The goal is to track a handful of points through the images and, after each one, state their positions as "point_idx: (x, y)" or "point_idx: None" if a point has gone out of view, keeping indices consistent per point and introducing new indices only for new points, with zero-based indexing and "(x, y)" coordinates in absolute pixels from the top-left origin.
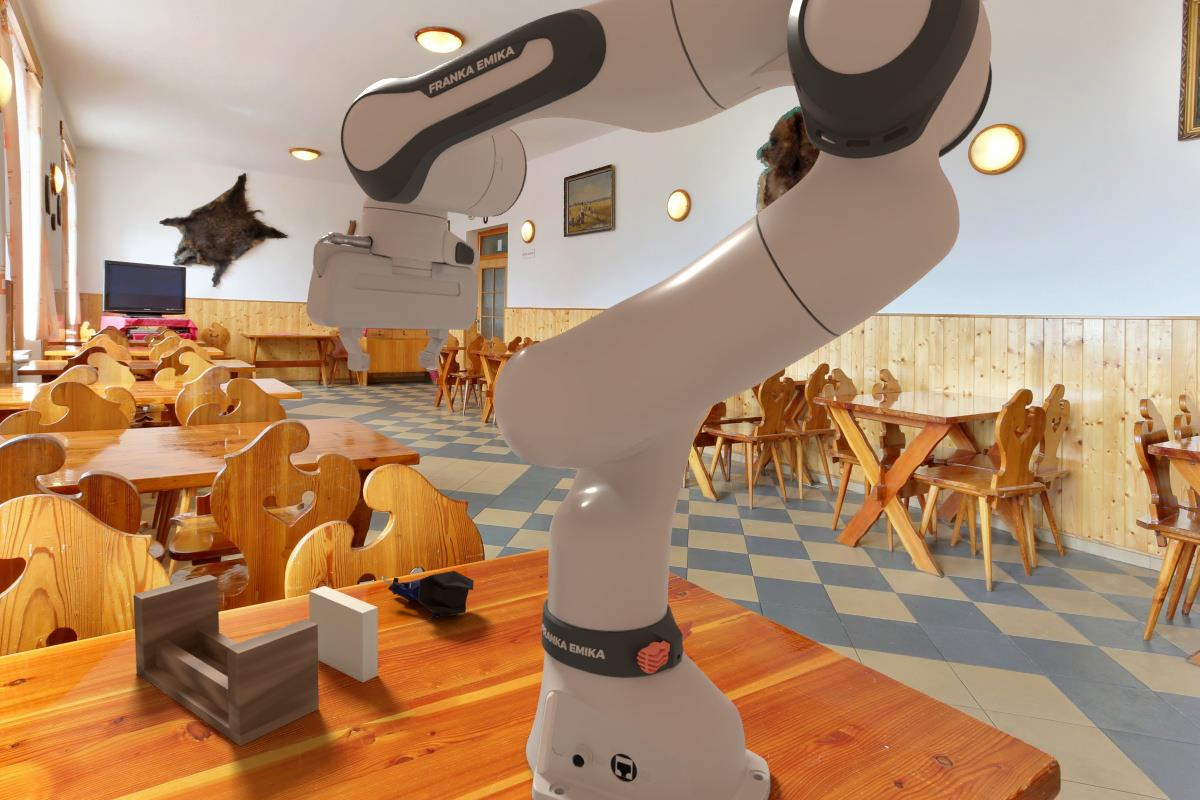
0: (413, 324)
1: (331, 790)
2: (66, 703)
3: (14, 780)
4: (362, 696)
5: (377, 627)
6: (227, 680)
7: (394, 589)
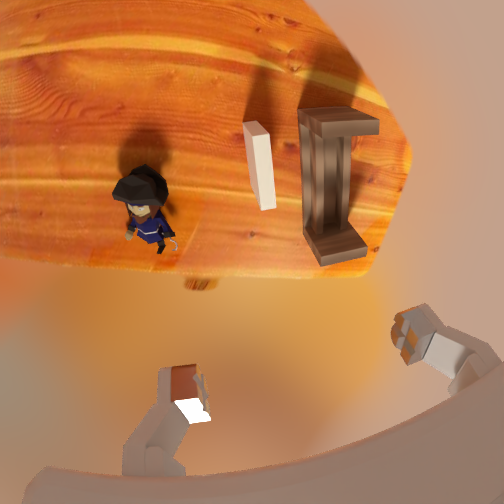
0: (332, 465)
1: (333, 31)
2: (375, 214)
3: (411, 160)
4: (267, 102)
5: (249, 131)
6: (345, 151)
7: (171, 231)
